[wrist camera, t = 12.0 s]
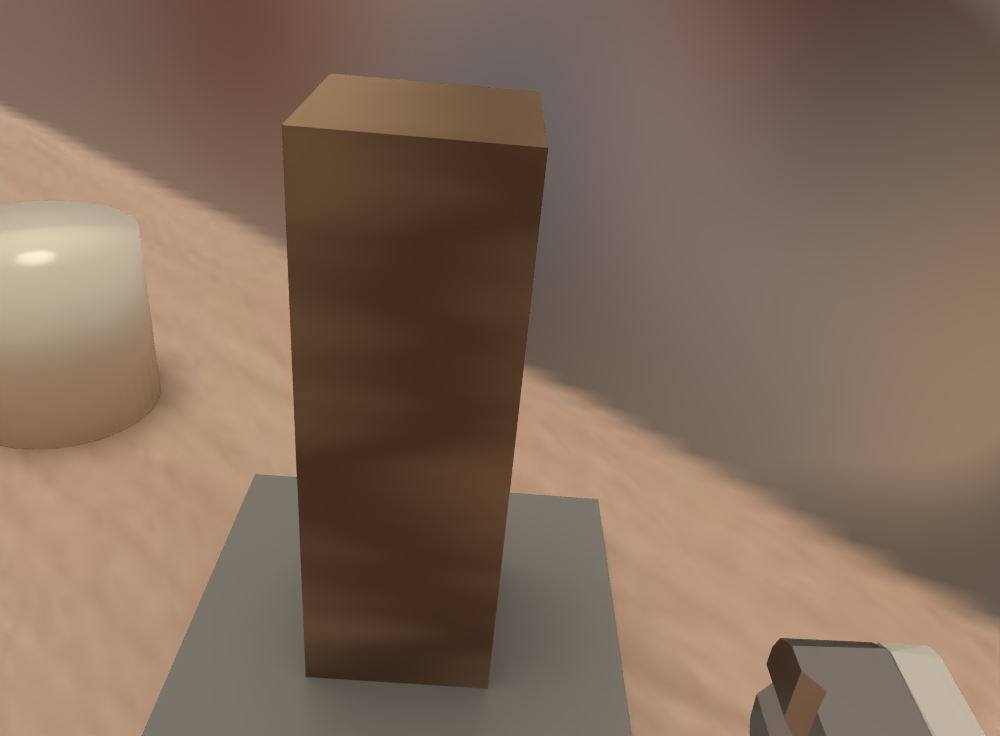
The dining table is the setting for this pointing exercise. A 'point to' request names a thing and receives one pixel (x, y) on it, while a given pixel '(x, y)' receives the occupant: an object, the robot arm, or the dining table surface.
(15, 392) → the cream domed cylinder
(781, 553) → the dining table surface
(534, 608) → the slate coaster
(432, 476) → the walnut block
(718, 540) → the dining table surface
